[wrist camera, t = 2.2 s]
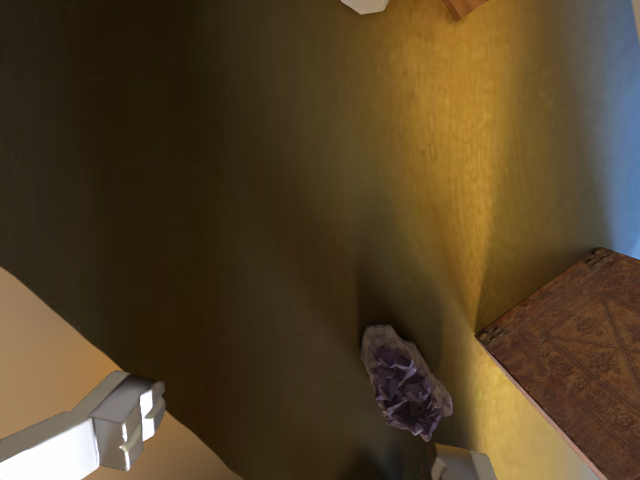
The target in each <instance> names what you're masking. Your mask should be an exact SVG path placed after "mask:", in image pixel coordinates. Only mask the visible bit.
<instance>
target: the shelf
mask: <svg viewBox="0 0 640 480" xmlns="http://www.w3.org/2000/svg"><path fill="white" fill-rule="evenodd" d="M443 1H444V3H445V4H446V6H447V7H448V9H449V11H450V12H451V14H452V15H453V17H454V18H455V20H456V21H459V20H460V19H462V18H463V17H465V16H466V15H468V14H469V13H471V12H472V11H474V10H475V9H476V8H478V7H479V6H481V5H482V4H484V3H485V2H487V1H488V0H443Z"/></svg>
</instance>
